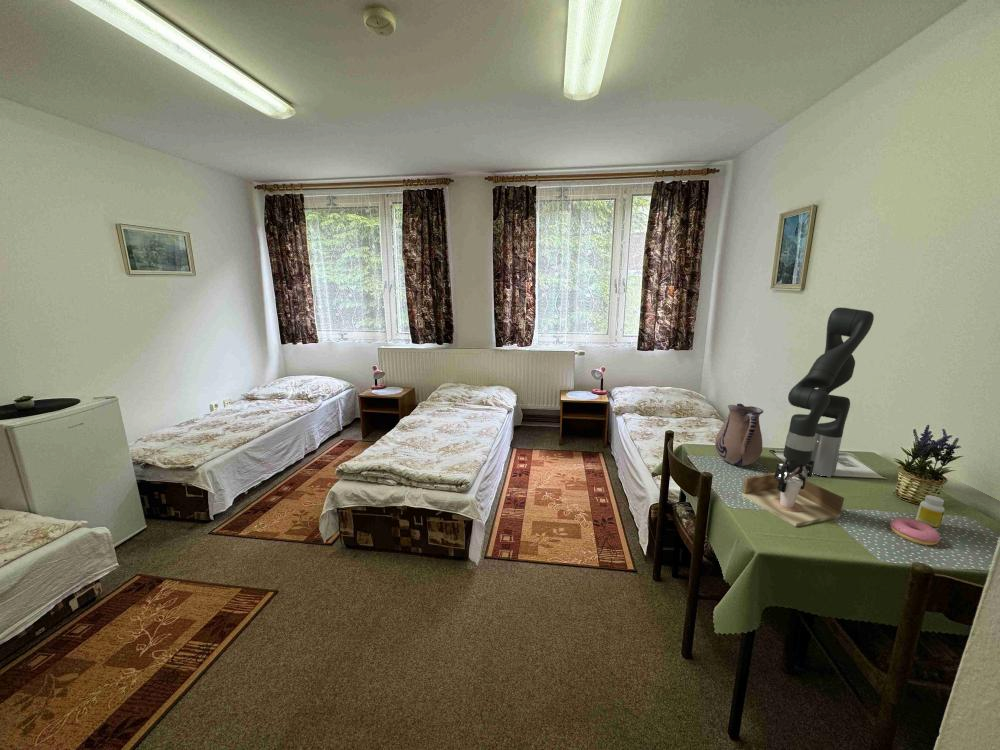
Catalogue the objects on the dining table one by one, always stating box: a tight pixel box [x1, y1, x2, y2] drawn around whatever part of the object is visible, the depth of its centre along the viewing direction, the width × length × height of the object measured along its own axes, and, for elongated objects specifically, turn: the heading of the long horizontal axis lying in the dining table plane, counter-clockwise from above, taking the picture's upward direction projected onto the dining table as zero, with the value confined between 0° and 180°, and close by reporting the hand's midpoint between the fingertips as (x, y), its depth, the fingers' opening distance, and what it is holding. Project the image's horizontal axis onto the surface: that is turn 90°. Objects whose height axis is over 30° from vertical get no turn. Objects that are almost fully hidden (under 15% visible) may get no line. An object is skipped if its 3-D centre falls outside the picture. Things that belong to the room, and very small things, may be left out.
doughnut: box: [889, 517, 941, 546], centre depth 122 cm, size 11×11×4 cm
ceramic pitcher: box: [714, 403, 764, 467], centre depth 168 cm, size 18×21×25 cm
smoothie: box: [780, 476, 803, 508], centre depth 134 cm, size 6×6×14 cm
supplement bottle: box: [915, 495, 945, 531], centre depth 127 cm, size 5×5×10 cm
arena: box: [741, 471, 845, 528], centre depth 137 cm, size 20×20×7 cm
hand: (790, 489), depth 135 cm, fingers open, 8 cm apart
